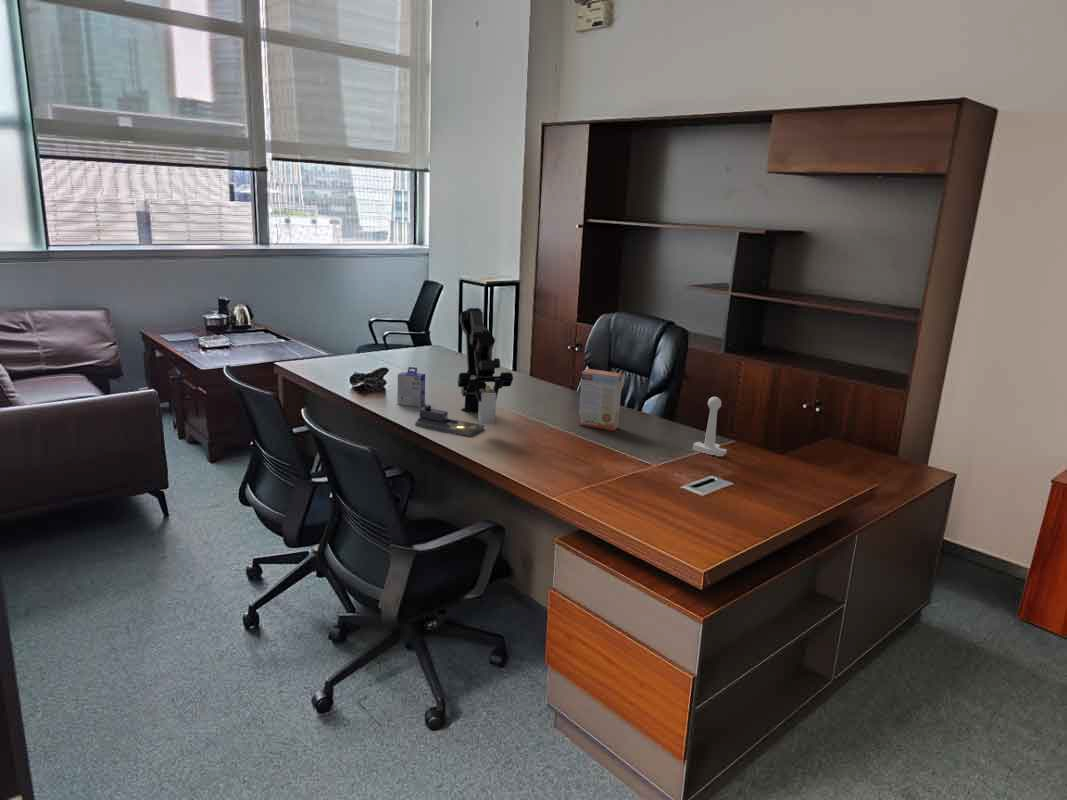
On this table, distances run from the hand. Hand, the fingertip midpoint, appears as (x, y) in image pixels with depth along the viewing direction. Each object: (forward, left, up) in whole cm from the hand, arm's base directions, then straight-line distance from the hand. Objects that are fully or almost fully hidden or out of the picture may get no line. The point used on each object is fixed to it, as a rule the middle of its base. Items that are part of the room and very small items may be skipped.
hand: (487, 401), depth 252 cm
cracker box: (-34, +29, -13) cm, 47 cm away
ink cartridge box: (-20, -44, -13) cm, 50 cm away
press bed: (-2, -16, -13) cm, 21 cm away
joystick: (-28, +72, -13) cm, 78 cm away
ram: (-2, -22, -11) cm, 25 cm away
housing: (-1, -1, -8) cm, 8 cm away
